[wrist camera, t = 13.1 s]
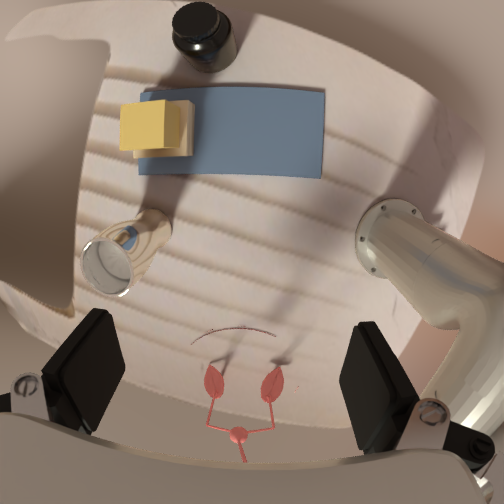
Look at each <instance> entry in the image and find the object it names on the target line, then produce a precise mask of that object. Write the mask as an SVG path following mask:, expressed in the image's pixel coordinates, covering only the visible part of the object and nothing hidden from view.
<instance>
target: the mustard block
mask: <svg viewBox="0 0 504 504" xmlns="http://www.w3.org/2000/svg"><path fill="white" fill-rule="evenodd" d="M179 127H180V107H178V106H176V105H174V104H172V103H171V102H169V101H167V100H156V101H147V102H139V103H131V104H125V105H121V115H120V151H123V150H146V149H162V148H179Z"/></svg>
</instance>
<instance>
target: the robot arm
mask: <svg viewBox="0 0 504 504" xmlns="http://www.w3.org/2000/svg"><path fill="white" fill-rule="evenodd" d="M381 206H382V209H381ZM361 236H362V238H361V239H360V237H361ZM355 249H356V254H357V257H358V260H359V262H360V263H361V265H362V266H363V267H364V268H365V270H366V271H367V272H369V273H370V274H371V275H373V276H375V277H378V278H383V279H388V280H389V281H390V282H391V283H392V284H393V285H394V286H395V287H396V288H397V289H398V291H399V292H400V293H401V294H402V295H403V296H404V297H405V298H406V300H407V301H408V302H409V303H410V304H411V305H412V306H413V308H414V309H415V310H416V311H417V312H418V313H419V314H420V315H421V317H422V318H423V319H424V320H425V321H426V322H427V323H429V324H430V325H431V326H433V327H436V328H438V329H443V330H457V329H459V332H458V335H457V337H456V339H455V341H454V343H453V345H452V346H451V348H450V351H449V352H448V354H447V356H446V357H445V359H444V360H443V362H442V364H441V365H440V367H439V368H438V370H437V371H436V373H435V374H434V376H433V377H432V378H431V380H430V381H429V383H428V385H427V386H426V388H425V389H424V390H423V392H422V393H421V395H420V397H419V396H418V395H417V393H416V391H415V389H414V387H413V386H412V383H411V382H410V380H409V378H408V376H407V375H406V373H405V371H404V369H403V367H402V366H401V364H400V362H399V360H398V359H397V357H396V356H395V354H394V353H393V351H392V350H391V348H390V346H389V345H388V343H387V341H386V340H385V338H384V336H383V335H382V333H381V331H380V330H379V328H378V326H377V325H376V323H375V322H373V321H369V322H359V324H358V326H354V328H353V332H352V336H351V339H350V343H349V347H348V350H347V354H346V357H345V360H344V364H343V367H342V370H341V374H340V378H339V383H340V387H341V390H342V394H343V397H344V400H345V403H346V407H347V410H348V414H349V417H350V420H351V424H352V427H353V431H354V434H355V438H356V441H357V445H358V448H359V450H363V452H364V455H362V456H355V457H348V458H340V459H331V460H320V461H309V462H292V463H291V462H290V463H244V462H226V461H213V460H202V459H195V458H187V457H180V456H174V455H168V454H162V453H157V452H152V451H147V450H143V449H138V448H134V447H130V446H126V445H121V444H118V443H114V442H111V441H107V440H103V439H100V438H97V437H94V436H91V433H92V431H93V432H94V431H96V429H97V427H98V425H99V423H100V421H101V419H102V417H103V415H104V412H105V410H106V408H107V406H108V404H109V402H110V400H111V398H112V396H113V394H114V392H115V390H116V388H117V386H118V384H119V382H120V380H121V378H122V376H123V374H124V372H125V362H124V359H123V356H122V352H121V349H120V345H119V341H118V337H117V334H116V330H115V326H114V322H113V317H112V315H111V314H109V312H108V311H107V310H105V309H98V308H93V309H92V310H91V311H90V312H89V313H88V314H87V316H86V317H85V318H84V319H83V320H82V321H81V322H80V324H79V325H78V326H77V327H76V328H75V329H74V331H73V332H72V333H71V334H70V335H69V337H68V338H67V339H66V340H65V341H64V343H63V344H62V345H61V346H60V347H59V349H58V350H57V351H56V352H55V354H54V355H53V356H52V357H51V359H50V360H49V361H48V362H47V364H46V365H45V366H44V368H43V369H42V370H41V371H42V373H43V375H42V376H41V377H40V376H39V375H37V374H35V373H31V372H29V373H24V374H21V375H19V376H18V377H16V379H15V380H14V381H13V382H12V384H11V392H10V393H6V394H3V395H0V504H504V263H503V262H500V261H498V260H496V259H494V258H492V257H490V256H488V255H486V254H484V253H482V252H481V251H479V250H477V249H475V248H473V247H472V246H470V245H468V244H466V243H464V242H463V241H461V240H459V239H457V238H455V237H454V236H452V235H450V234H448V233H446V232H444V231H443V230H441V229H439V228H437V227H435V226H433V225H431V224H429V223H427V222H425V220H424V218H423V216H422V214H421V212H420V211H419V210H418V208H416V207H415V206H414V205H413V204H411V203H409V202H407V201H405V200H402V199H387V200H384V201H381V202H379V203H377V204H376V205H374V206H373V207H372V208H370V209H369V210H368V211H367V213H366V214H365V215H364V216H363V218H362V220H361V221H360V223H359V226H358V228H357V231H356V237H355ZM371 268H372V269H371Z"/></svg>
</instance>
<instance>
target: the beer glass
mask: <svg viewBox="0 0 504 504" xmlns="http://www.w3.org/2000/svg"><path fill="white" fill-rule="evenodd" d="M171 231H172V229H171V224H170V221H169V219H168V218H167V216H166V215H165V214H164V213H162V212H161V211H159V210H156V209H146V210H143V211H142V212H140V213H139V214H138V215H137V216H136V217H135V219H132V220H127V221H122V222H119V223H116V224H113V225H112V226H110V227H108V228H106V229H105V230H103V231H102V232H100V233H99V234H98V235H97V236H95V237H94V238H93V239H92V240H90V241H89V242H88V243H87V244H86V245H85V246H84V248H83V250H82V252H81V256H80V265H81V270H82V273H83V276H84V278H85V279H86V281H87V283H88V284H89V285H90V286H91V287H92V288H93V289H94V290H95V291H96V292H98V293H100V294H102V295H104V296H107V297H119V296H122V295H124V294H125V293H127V292H128V290H129V289H130V288H131V287H132V286H134V285H135V284H136V283H137V282H138V281H139V280H140V279H141V278H142V276H143V275H144V274H145V273H146V271H147V270H148V269H149V267H150V265H151V263H152V261H153V259H154V257H155V254H156V252H157V249H158V248H161V247H163V246H164V245H165V244H166V243H167V242H168V241H169V239H170V237H171Z"/></svg>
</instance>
